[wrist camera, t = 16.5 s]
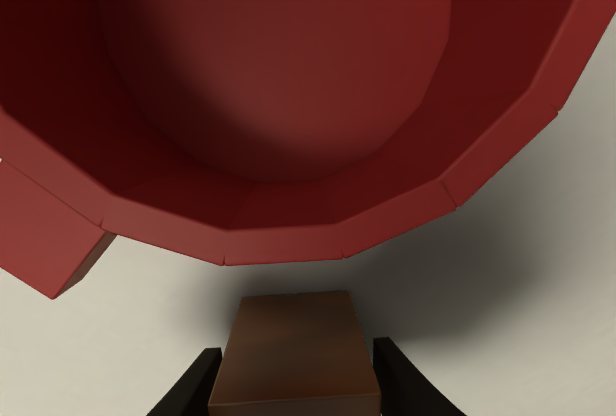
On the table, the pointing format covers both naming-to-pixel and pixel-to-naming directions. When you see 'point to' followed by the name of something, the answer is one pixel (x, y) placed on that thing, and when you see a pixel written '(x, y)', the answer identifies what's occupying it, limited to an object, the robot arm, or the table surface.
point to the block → (296, 360)
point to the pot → (264, 121)
